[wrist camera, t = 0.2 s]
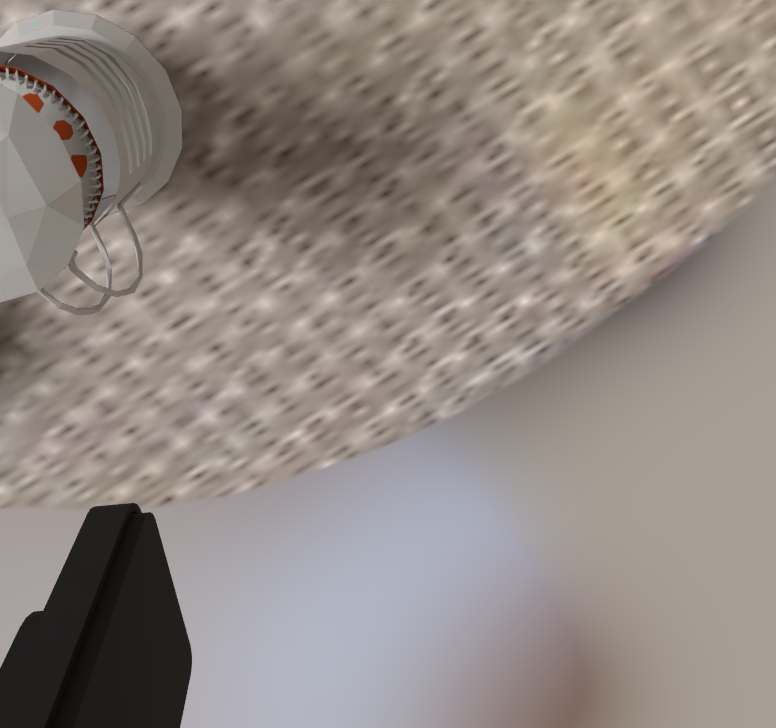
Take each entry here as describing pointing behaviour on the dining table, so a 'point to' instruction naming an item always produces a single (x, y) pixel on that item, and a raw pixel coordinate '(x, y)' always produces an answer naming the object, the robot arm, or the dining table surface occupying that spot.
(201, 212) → the dining table surface
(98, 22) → the french press
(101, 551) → the robot arm
